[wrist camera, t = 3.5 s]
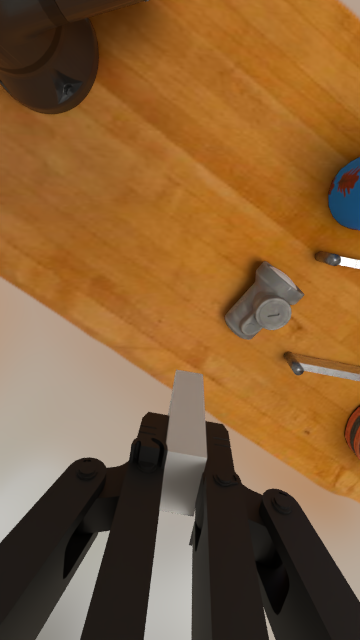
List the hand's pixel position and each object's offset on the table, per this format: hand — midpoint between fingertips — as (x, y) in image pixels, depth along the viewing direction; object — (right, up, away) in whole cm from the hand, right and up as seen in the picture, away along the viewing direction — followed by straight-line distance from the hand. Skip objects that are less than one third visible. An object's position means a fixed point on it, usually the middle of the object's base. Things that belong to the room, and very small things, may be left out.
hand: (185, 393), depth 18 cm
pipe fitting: (+13, +8, +37) cm, 40 cm away
